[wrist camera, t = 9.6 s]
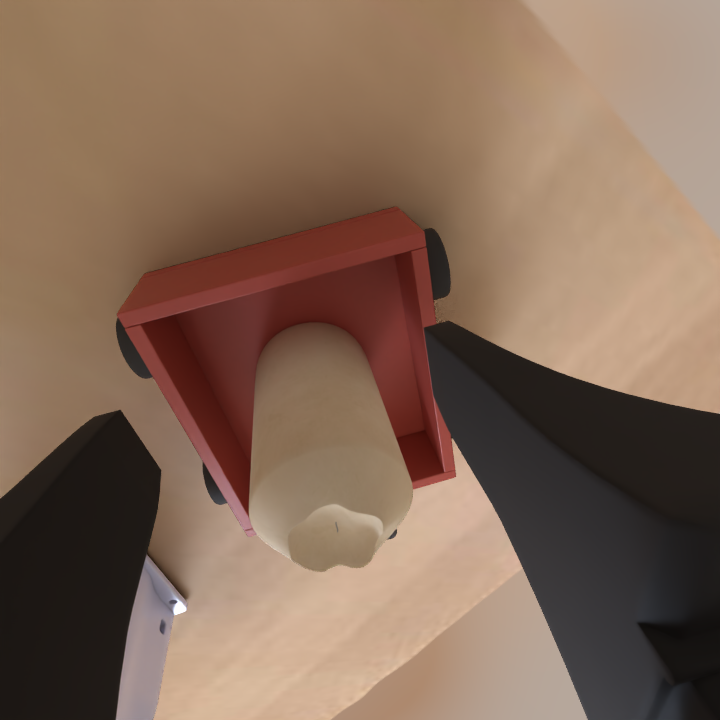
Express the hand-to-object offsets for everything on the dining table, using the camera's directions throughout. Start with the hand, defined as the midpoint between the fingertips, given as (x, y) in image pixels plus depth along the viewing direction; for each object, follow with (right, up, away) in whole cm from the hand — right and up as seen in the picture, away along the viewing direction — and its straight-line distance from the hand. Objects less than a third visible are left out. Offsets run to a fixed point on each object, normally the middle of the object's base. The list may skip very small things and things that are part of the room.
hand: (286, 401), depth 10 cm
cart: (-1, +1, +12) cm, 12 cm away
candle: (-1, +1, +11) cm, 12 cm away
